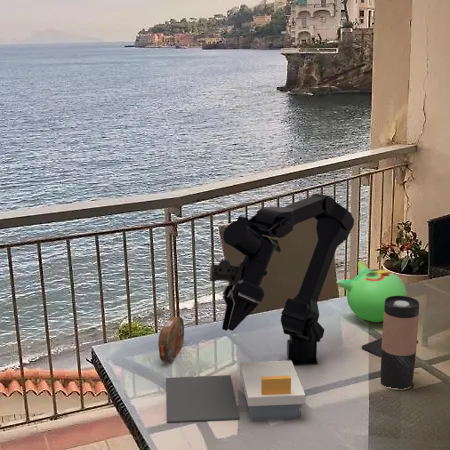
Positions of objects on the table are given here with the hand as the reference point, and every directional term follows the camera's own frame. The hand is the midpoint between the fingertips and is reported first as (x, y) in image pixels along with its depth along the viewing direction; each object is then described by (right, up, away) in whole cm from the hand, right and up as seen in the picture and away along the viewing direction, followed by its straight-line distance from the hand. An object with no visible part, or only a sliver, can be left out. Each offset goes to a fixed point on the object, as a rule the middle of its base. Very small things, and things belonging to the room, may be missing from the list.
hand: (227, 330), depth 148 cm
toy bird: (+41, -4, +49) cm, 64 cm away
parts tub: (+9, -16, +3) cm, 19 cm away
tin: (-14, -10, +27) cm, 32 cm away
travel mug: (+39, -14, +12) cm, 43 cm away
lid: (+9, -12, +2) cm, 16 cm away
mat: (-6, -16, +5) cm, 18 cm away
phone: (+42, -9, +32) cm, 53 cm away
